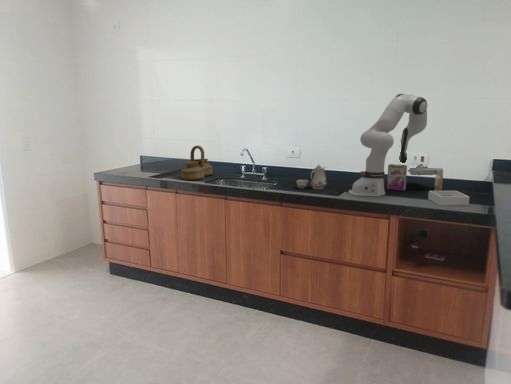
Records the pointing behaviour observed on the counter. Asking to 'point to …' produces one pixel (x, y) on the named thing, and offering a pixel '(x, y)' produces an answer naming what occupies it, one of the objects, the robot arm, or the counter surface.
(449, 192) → the bore box
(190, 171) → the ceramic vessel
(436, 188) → the wooden peg
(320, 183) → the chinaware
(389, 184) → the candy bar box
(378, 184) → the robot arm
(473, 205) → the counter surface
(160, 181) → the counter surface
